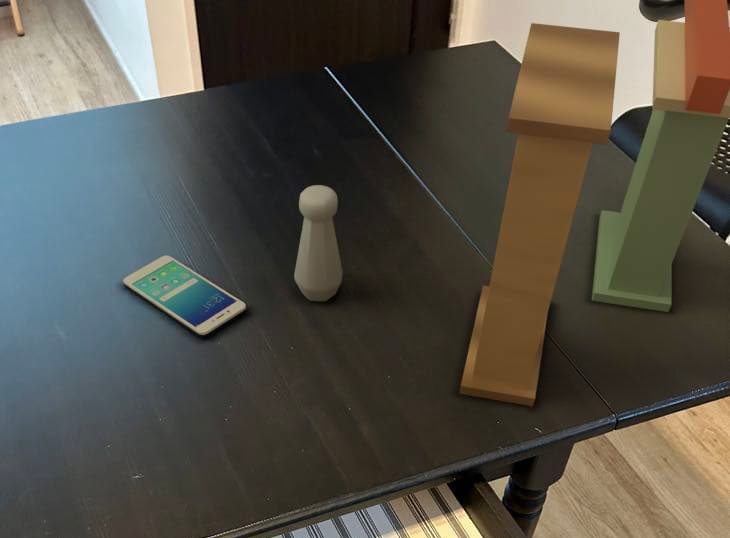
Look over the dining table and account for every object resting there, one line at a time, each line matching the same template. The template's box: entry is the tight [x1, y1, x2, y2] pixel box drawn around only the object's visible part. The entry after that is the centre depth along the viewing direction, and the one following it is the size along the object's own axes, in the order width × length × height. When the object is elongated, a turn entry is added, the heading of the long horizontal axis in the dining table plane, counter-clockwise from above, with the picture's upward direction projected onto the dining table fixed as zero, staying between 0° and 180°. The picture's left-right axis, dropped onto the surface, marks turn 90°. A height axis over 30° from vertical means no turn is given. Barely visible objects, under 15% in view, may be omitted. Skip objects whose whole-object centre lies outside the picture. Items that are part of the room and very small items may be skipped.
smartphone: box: [122, 255, 247, 339], centre depth 99 cm, size 7×1×15 cm
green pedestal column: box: [591, 20, 730, 313], centre depth 94 cm, size 18×9×24 cm, turn 166°
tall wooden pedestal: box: [459, 22, 621, 407], centre depth 82 cm, size 18×8×30 cm, turn 166°
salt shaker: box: [293, 184, 343, 302], centre depth 95 cm, size 6×6×13 cm
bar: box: [684, 0, 730, 114], centre depth 85 cm, size 28×3×3 cm, turn 166°
